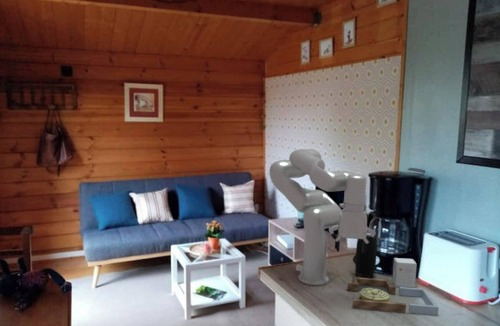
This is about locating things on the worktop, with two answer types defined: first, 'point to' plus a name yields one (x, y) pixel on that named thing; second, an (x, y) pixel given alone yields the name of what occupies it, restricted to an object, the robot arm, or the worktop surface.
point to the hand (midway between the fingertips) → (350, 251)
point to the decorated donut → (374, 295)
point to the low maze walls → (375, 304)
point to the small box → (404, 272)
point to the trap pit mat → (371, 287)
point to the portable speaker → (366, 258)
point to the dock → (417, 308)
